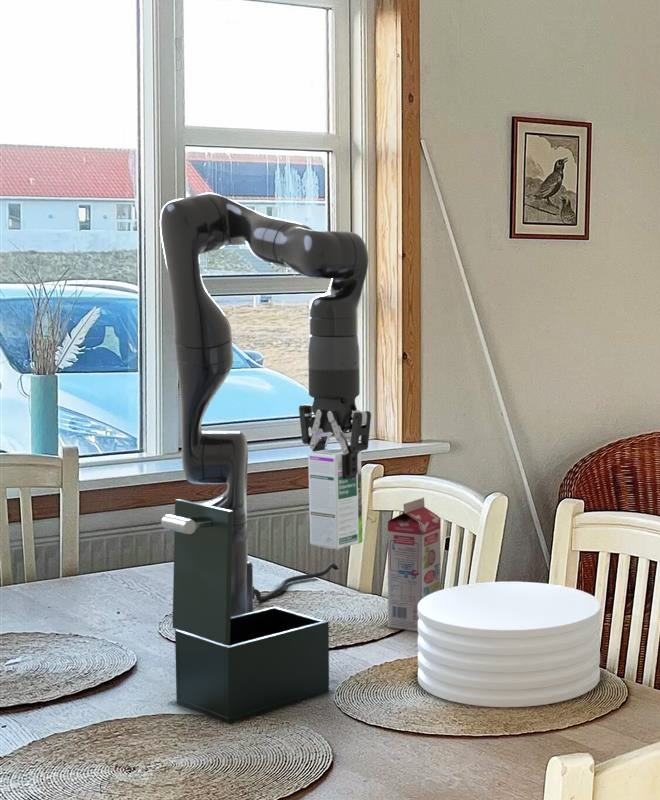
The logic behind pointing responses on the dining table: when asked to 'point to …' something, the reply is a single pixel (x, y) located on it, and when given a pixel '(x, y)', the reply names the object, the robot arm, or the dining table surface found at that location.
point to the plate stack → (509, 643)
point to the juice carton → (412, 562)
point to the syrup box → (333, 501)
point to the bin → (253, 665)
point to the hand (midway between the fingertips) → (334, 475)
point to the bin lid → (202, 569)
